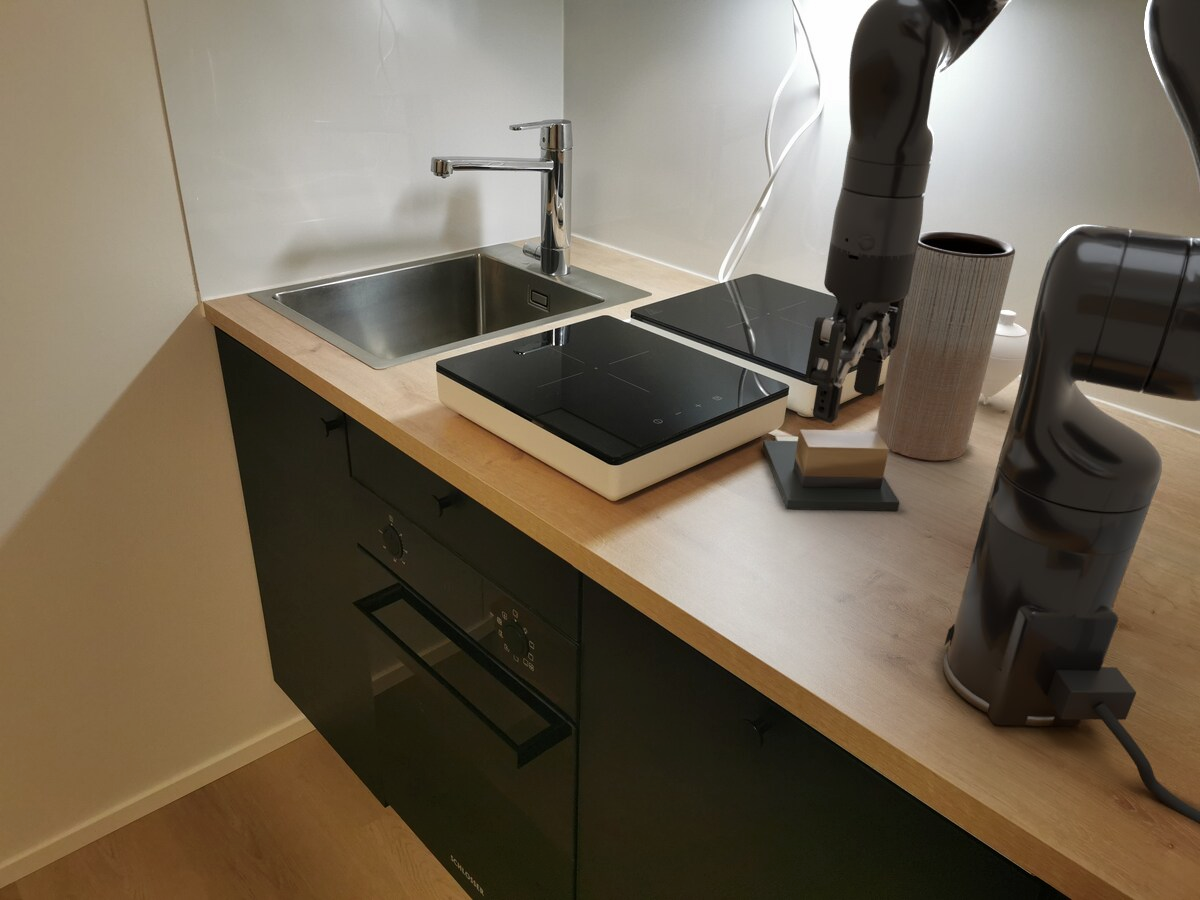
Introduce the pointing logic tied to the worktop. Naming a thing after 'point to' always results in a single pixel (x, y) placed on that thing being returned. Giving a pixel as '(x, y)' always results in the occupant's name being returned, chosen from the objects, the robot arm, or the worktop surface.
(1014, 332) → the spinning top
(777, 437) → the cream rectangular block
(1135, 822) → the worktop surface
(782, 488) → the slate board
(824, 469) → the eraser
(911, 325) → the planter
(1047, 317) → the robot arm
